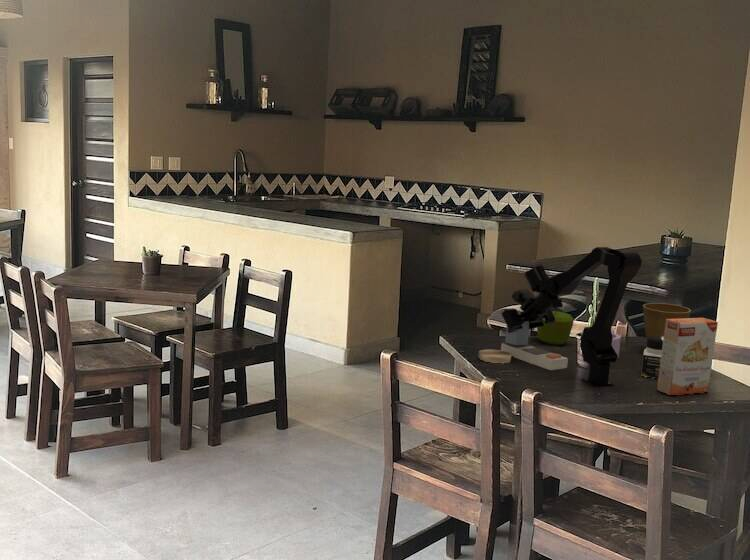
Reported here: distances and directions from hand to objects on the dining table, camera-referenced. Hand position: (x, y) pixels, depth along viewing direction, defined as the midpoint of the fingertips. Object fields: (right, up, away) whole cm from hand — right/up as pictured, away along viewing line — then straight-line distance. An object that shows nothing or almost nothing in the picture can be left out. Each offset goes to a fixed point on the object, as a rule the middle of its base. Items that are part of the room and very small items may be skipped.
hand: (514, 331), depth 258 cm
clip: (+29, -8, +8) cm, 31 cm away
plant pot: (+51, -9, +11) cm, 53 cm away
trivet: (-8, -8, -9) cm, 14 cm away
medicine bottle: (+39, -13, -17) cm, 44 cm away
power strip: (+5, -9, -6) cm, 12 cm away
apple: (+16, -5, +18) cm, 25 cm away
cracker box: (+42, -15, -32) cm, 55 cm away
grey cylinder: (+1, -4, -1) cm, 4 cm away
